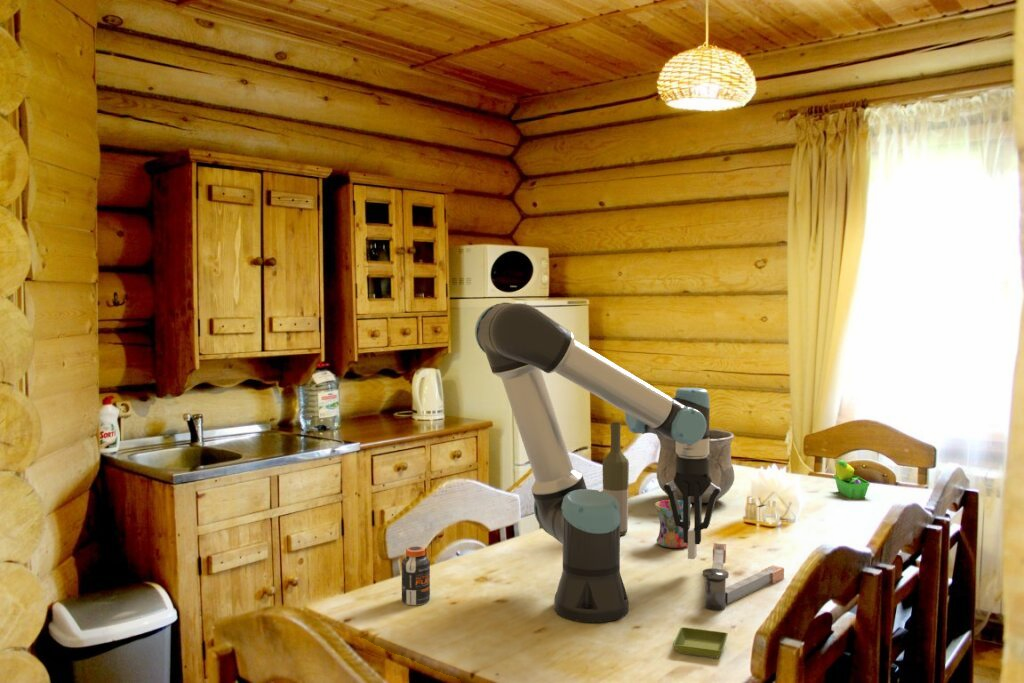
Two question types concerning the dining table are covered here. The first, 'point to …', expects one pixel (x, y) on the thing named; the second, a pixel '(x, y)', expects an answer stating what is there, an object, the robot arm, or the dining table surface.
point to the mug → (669, 525)
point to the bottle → (617, 475)
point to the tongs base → (735, 585)
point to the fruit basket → (849, 481)
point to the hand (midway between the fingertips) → (692, 557)
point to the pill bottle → (415, 576)
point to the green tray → (700, 642)
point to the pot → (718, 463)
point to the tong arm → (719, 555)
